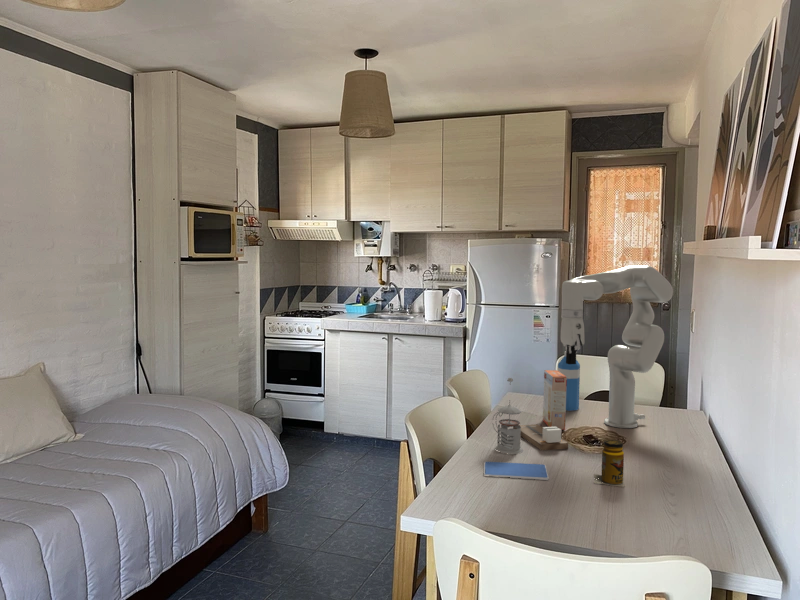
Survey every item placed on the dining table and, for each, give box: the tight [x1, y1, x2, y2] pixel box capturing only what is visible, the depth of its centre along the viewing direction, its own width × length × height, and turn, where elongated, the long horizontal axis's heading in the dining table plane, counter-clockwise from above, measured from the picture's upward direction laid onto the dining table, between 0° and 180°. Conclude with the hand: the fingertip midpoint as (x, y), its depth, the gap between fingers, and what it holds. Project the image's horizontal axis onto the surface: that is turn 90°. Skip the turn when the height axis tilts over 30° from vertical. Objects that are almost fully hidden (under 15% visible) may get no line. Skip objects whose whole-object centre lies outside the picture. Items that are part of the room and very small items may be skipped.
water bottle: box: [557, 350, 581, 412], centre depth 261 cm, size 9×9×25 cm
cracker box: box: [542, 369, 567, 431], centre depth 234 cm, size 14×6×21 cm, turn 179°
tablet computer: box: [483, 461, 550, 481], centre depth 183 cm, size 19×13×1 cm, turn 81°
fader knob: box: [542, 426, 562, 443], centre depth 207 cm, size 5×4×4 cm
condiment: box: [593, 439, 626, 488], centre depth 175 cm, size 7×8×12 cm
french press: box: [492, 377, 524, 455], centre depth 204 cm, size 10×12×25 cm
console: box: [512, 423, 569, 451], centre depth 216 cm, size 10×24×2 cm, turn 13°
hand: (570, 363), depth 219 cm, fingers closed
